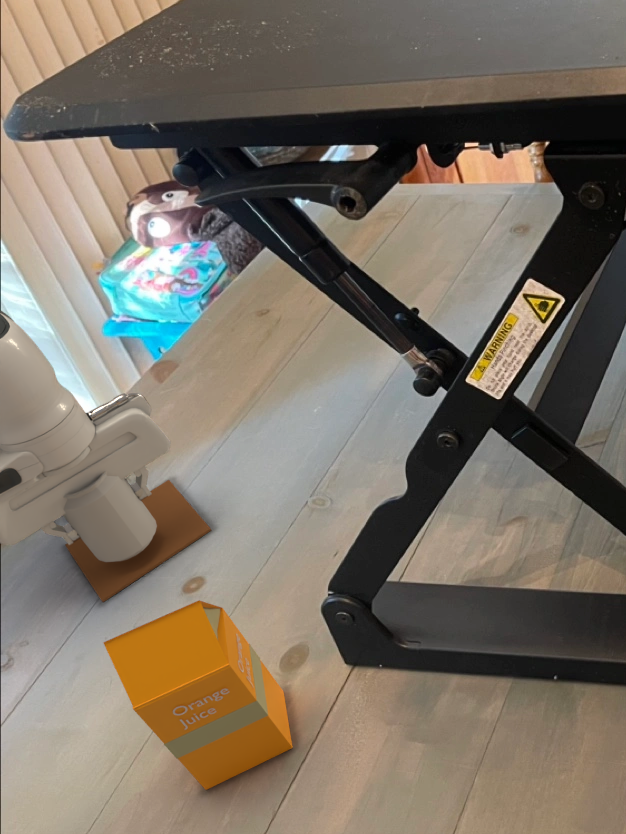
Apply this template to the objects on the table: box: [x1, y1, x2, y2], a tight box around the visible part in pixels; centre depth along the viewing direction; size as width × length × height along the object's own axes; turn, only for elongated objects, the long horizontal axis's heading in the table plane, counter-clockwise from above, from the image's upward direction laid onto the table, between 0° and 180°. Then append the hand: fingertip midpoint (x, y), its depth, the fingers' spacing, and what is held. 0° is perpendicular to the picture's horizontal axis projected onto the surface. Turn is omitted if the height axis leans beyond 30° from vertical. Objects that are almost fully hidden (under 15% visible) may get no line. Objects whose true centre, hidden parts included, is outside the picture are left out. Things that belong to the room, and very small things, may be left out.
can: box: [63, 472, 157, 562], centre depth 128 cm, size 8×8×12 cm
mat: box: [64, 479, 212, 603], centre depth 135 cm, size 14×14×1 cm
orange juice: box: [102, 600, 294, 791], centre depth 103 cm, size 8×9×20 cm
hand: (109, 517), depth 128 cm, fingers closed on can, 7 cm apart
